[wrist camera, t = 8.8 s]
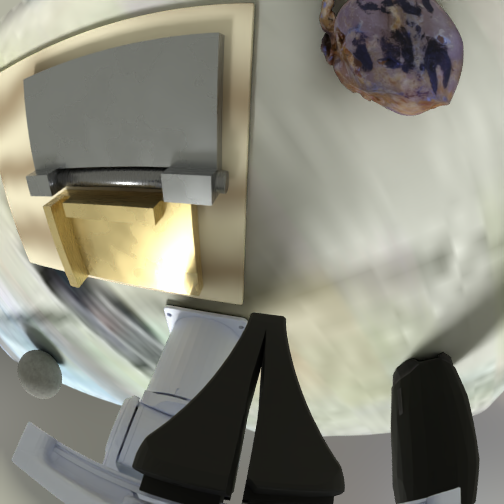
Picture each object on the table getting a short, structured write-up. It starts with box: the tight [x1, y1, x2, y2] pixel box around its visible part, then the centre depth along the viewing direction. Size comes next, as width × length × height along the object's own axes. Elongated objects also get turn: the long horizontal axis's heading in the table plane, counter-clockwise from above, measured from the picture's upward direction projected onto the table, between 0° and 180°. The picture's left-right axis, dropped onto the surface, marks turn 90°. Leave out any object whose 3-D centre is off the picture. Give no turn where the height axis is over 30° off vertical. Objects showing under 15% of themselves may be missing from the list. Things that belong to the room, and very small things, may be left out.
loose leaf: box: [43, 190, 203, 296], centre depth 20 cm, size 8×12×3 cm
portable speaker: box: [391, 352, 479, 504], centre depth 19 cm, size 9×9×20 cm
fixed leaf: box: [23, 32, 229, 206], centre depth 15 cm, size 10×17×2 cm, turn 88°
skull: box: [319, 0, 463, 116], centre depth 8 cm, size 12×8×6 cm, turn 177°
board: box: [0, 3, 255, 305], centre depth 19 cm, size 22×26×1 cm
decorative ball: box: [18, 350, 62, 399], centre depth 40 cm, size 10×10×10 cm
